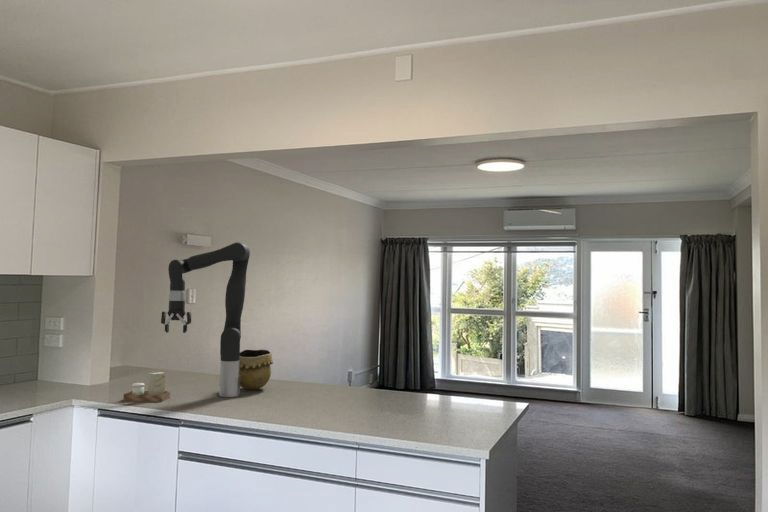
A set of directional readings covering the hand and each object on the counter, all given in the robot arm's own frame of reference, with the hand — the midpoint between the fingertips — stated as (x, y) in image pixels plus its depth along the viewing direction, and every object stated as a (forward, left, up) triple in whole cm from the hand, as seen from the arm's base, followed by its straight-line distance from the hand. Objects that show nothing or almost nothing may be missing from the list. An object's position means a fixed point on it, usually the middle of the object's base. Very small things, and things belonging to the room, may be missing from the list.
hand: (175, 332), depth 285 cm
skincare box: (+2, +17, -30) cm, 34 cm away
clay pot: (-35, -16, -30) cm, 49 cm away
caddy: (+6, +17, -30) cm, 35 cm away
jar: (+10, +17, -30) cm, 36 cm away
